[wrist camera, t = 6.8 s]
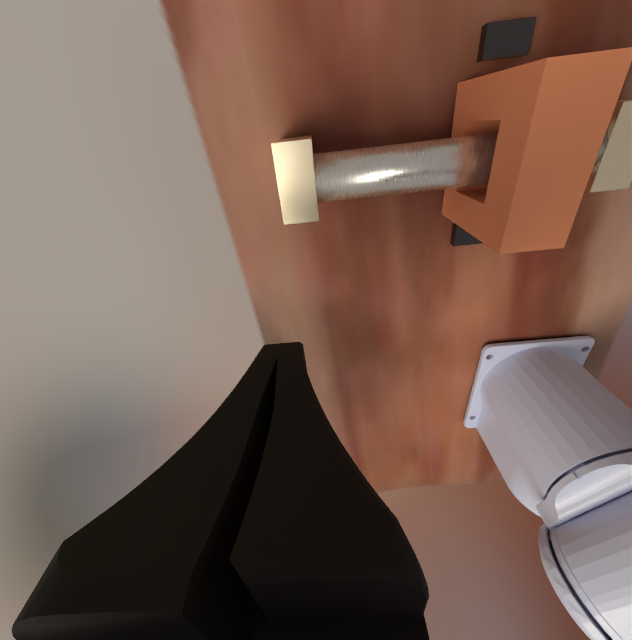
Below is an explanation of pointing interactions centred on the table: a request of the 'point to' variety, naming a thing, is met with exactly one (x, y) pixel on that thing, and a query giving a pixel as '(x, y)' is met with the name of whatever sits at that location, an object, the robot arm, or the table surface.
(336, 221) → the table surface
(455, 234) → the pipe rail
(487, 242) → the upright terracotta block
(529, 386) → the robot arm
